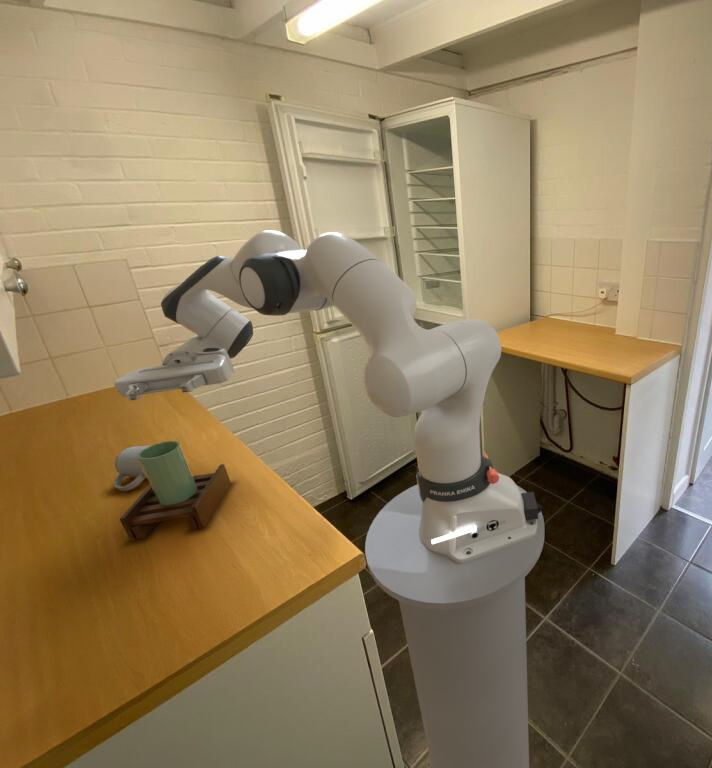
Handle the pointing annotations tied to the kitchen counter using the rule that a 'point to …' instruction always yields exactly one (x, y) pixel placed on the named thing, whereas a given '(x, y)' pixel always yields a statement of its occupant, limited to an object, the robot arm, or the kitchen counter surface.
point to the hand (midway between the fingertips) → (158, 392)
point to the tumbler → (168, 472)
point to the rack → (177, 506)
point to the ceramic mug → (129, 467)
